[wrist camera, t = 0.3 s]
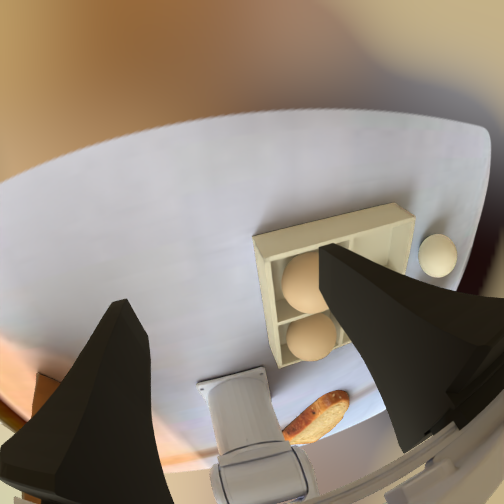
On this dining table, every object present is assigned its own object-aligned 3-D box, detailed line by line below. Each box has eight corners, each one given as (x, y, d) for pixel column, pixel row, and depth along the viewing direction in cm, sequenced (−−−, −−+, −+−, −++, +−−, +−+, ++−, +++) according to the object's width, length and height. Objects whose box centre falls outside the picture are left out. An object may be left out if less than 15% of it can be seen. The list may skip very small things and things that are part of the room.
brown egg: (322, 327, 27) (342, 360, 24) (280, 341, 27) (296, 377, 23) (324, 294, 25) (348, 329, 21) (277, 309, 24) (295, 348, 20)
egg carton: (377, 307, 29) (390, 324, 27) (269, 346, 28) (278, 368, 25) (393, 202, 22) (415, 216, 20) (252, 236, 20) (263, 258, 18)
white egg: (433, 256, 28) (457, 278, 24) (407, 267, 27) (432, 291, 24) (440, 222, 25) (469, 243, 22) (414, 231, 25) (444, 254, 21)
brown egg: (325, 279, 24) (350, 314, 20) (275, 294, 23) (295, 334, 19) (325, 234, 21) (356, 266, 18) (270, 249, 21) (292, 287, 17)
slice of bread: (340, 382, 38) (350, 401, 35) (356, 408, 49) (363, 421, 46) (243, 429, 40) (248, 447, 36) (282, 444, 50) (287, 458, 47)
